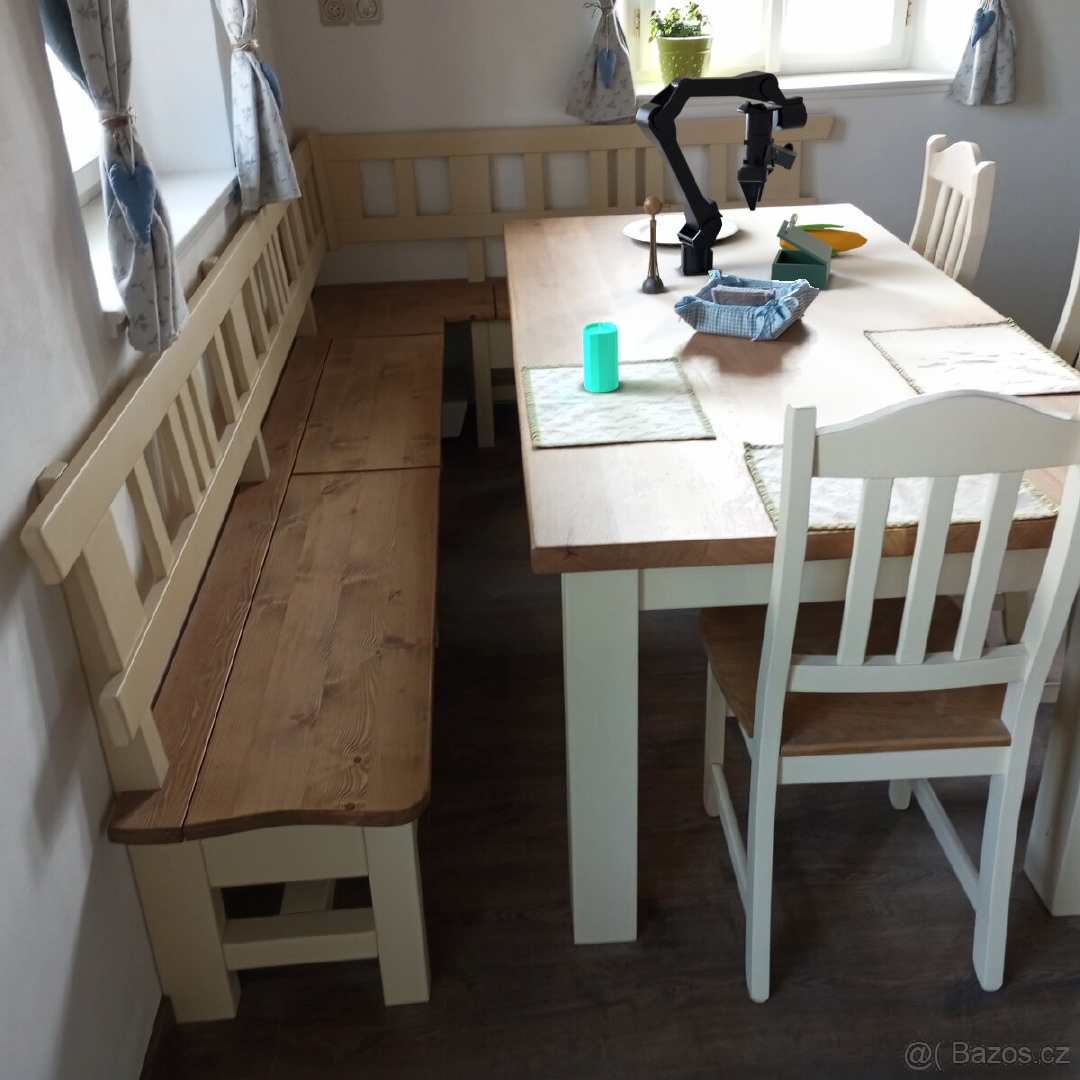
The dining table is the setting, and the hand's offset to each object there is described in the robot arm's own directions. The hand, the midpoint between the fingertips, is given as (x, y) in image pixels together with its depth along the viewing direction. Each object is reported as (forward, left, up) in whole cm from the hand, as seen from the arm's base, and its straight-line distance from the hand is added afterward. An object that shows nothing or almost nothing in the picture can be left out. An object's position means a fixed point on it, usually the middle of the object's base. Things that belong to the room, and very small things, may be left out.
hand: (755, 206), depth 247 cm
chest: (+7, -16, -13) cm, 22 cm away
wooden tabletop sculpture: (-25, -17, -13) cm, 33 cm away
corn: (+17, +3, -13) cm, 22 cm away
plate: (-12, +30, -13) cm, 35 cm away
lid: (+7, -17, -5) cm, 19 cm away
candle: (-42, -72, -13) cm, 84 cm away
